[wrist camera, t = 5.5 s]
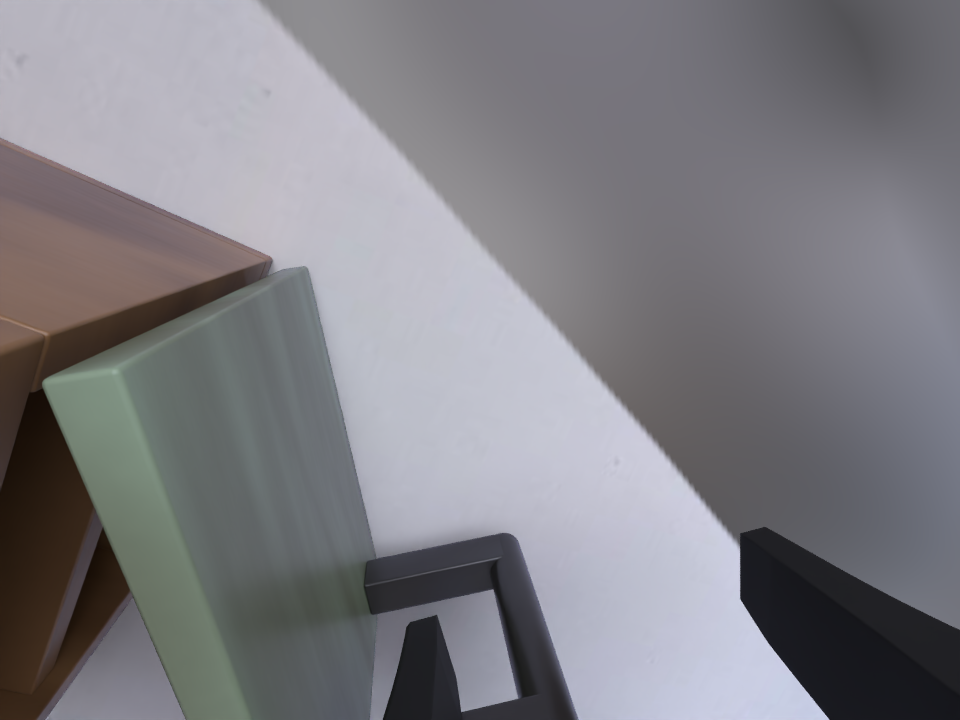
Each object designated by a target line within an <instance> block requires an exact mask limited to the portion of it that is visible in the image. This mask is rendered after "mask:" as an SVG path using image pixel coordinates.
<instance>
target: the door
mask: <svg viewBox="0 0 960 720" xmlns="http://www.w3.org/2000/svg"><path fill="white" fill-rule="evenodd" d="M42 387H43V389H44V392H45V394H46V396H47V399H48V401H49V403H50V406H51V408H52V410H53V413H54V415H55V417H56V420H57V422H58V424H59V427H60V429H61V431H62V434H63V436H64V438H65V441H66V443H67V445H68V447H69V450H70V452H71V454H72V457H73V459H74V461H75V464H76V466H77V468H78V471H79V473H80V475H81V478H82V480H83V482H84V485H85V487H86V489H87V492H88V494H89V496H90V498H91V501H92V503H93V505H94V508H95V510H96V512H97V515H98V517H99V519H100V522H101V524H102V526H103V529H104V531H105V533H106V536H107V538H108V540H109V543H110V545H111V547H112V549H113V552H114V554H115V556H116V559H117V561H118V563H119V566H120V568H121V570H122V573H123V575H124V577H125V580H126V582H127V584H128V587H129V589H130V591H131V594H132V596H133V598H134V600H135V603H136V605H137V607H138V610H139V612H140V614H141V617H142V619H143V621H144V624H145V626H146V628H147V631H148V633H149V635H150V638H151V640H152V642H153V645H154V647H155V649H156V652H157V654H158V656H159V658H160V661H161V663H162V665H163V668H164V670H165V672H166V675H167V677H168V679H169V682H170V684H171V686H172V689H173V691H174V693H175V696H176V698H177V700H178V703H179V705H180V707H181V709H182V712H183V714H184V716H185V719H186V720H370V710H371V696H372V683H373V669H374V656H375V643H376V629H377V616H378V614H380V613H385V612H390V611H394V610H399V609H404V608H408V607H413V606H417V605H422V604H427V603H431V602H436V601H441V600H445V599H450V598H455V597H459V596H464V595H469V594H473V593H478V592H483V591H487V590H492V589H493V590H494V594H495V598H496V603H497V607H498V612H499V616H500V620H501V625H502V629H503V634H504V638H505V642H506V647H507V651H508V656H509V660H510V664H511V669H512V673H513V678H514V682H515V686H516V691H517V695H518V699H516V700H512V701H507V702H503V703H499V704H495V705H491V706H486V707H482V708H478V709H474V710H469V711H465V712H461V715H462V720H578V717H577V714H576V711H575V708H574V705H573V702H572V699H571V696H570V693H569V690H568V687H567V684H566V681H565V678H564V675H563V672H562V669H561V666H560V663H559V660H558V657H557V654H556V651H555V649H554V646H553V643H552V640H551V637H550V634H549V631H548V628H547V625H546V622H545V619H544V616H543V613H542V610H541V607H540V604H539V601H538V598H537V595H536V592H535V589H534V586H533V583H532V580H531V577H530V574H529V571H528V568H527V565H526V562H525V559H524V556H523V553H522V550H521V548H520V545H519V542H518V540H517V539H516V538H515V537H514V536H513V535H511V534H508V533H500V534H496V535H491V536H486V537H481V538H476V539H471V540H466V541H461V542H456V543H451V544H447V545H442V546H437V547H432V548H427V549H422V550H417V551H412V552H407V553H402V554H398V555H393V556H388V557H383V558H378V559H376V555H375V551H374V547H373V542H372V538H371V534H370V530H369V525H368V521H367V517H366V513H365V508H364V504H363V500H362V496H361V492H360V487H359V483H358V479H357V475H356V470H355V466H354V462H353V458H352V453H351V449H350V445H349V441H348V437H347V432H346V428H345V424H344V420H343V415H342V411H341V407H340V403H339V398H338V394H337V390H336V386H335V382H334V377H333V373H332V369H331V365H330V360H329V356H328V352H327V348H326V344H325V339H324V335H323V331H322V327H321V322H320V318H319V314H318V310H317V305H316V301H315V297H314V293H313V289H312V284H311V280H310V276H309V272H308V268H307V267H305V266H303V267H296V268H289V269H283V270H280V271H278V272H276V273H274V274H272V275H269V276H267V277H265V278H263V279H261V280H259V281H256V282H254V283H252V284H250V285H248V286H245V287H243V288H241V289H239V290H237V291H235V292H232V293H230V294H228V295H226V296H224V297H221V298H219V299H217V300H215V301H213V302H211V303H208V304H206V305H204V306H202V307H200V308H197V309H195V310H193V311H191V312H189V313H187V314H184V315H182V316H180V317H178V318H176V319H173V320H171V321H169V322H167V323H165V324H163V325H160V326H158V327H156V328H154V329H152V330H149V331H147V332H145V333H143V334H141V335H139V336H136V337H134V338H132V339H130V340H128V341H125V342H123V343H121V344H119V345H117V346H115V347H112V348H110V349H108V350H106V351H104V352H101V353H99V354H97V355H95V356H93V357H90V358H88V359H86V360H84V361H82V362H80V363H77V364H75V365H73V366H71V367H69V368H66V369H64V370H62V371H60V372H58V373H56V374H53V375H51V376H49V377H47V378H46V379H44V380H43V382H42Z"/></svg>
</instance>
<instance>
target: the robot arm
mask: <svg viewBox="0 0 960 720" xmlns="http://www.w3.org/2000/svg"><path fill="white" fill-rule="evenodd" d="M740 599H741V601H742V602H743V604H744V606H745V607H746V609H747V610H748V612H749V614H750V615H751V617H752V618H753V620H754V622H755V623H756V625H757V626H758V628H759V629H760V631H761V632H762V634H763V635H764V637H765V638H766V640H767V641H768V643H769V644H770V646H771V647H772V648H773V650H774V651H775V652H776V653H777V655H778V656H779V657H780V658H781V660H782V661H783V662H784V663H785V665H786V666H787V667H788V669H789V670H790V671H791V672H792V674H793V675H794V676H795V677H796V679H797V680H798V681H799V682H800V684H801V685H802V686H803V687H804V689H805V690H806V691H807V692H808V693H809V695H810V696H811V697H812V698H813V700H814V701H815V702H816V703H817V705H818V706H819V707H820V708H821V710H822V711H823V712H824V713H825V715H826V716H827V717H828V718H829V720H960V630H959V629H956V628H954V627H952V626H950V625H948V624H946V623H944V622H942V621H940V620H938V619H935V618H933V617H931V616H929V615H927V614H925V613H923V612H921V611H919V610H917V609H915V608H913V607H911V606H909V605H907V604H905V603H903V602H901V601H899V600H897V599H895V598H893V597H891V596H889V595H888V594H886V593H884V592H882V591H880V590H878V589H876V588H874V587H872V586H870V585H869V584H867V583H865V582H863V581H861V580H859V579H857V578H856V577H854V576H852V575H850V574H848V573H846V572H845V571H843V570H841V569H839V568H837V567H836V566H834V565H832V564H830V563H829V562H827V561H825V560H823V559H821V558H819V557H818V556H816V555H814V554H813V553H811V552H809V551H807V550H805V549H804V548H802V547H800V546H798V545H797V544H795V543H793V542H791V541H790V540H788V539H786V538H784V537H782V536H781V535H779V534H777V533H775V532H773V531H772V530H770V529H768V528H766V527H763V528H759V529H755V530H752V531H748V532H744V533H741V534H740ZM383 720H462V715H461V708H460V700H459V693H458V686H457V679H456V675H455V672H454V669H453V665H452V662H451V659H450V656H449V652H448V649H447V646H446V643H445V639H444V636H443V633H442V630H441V626H440V623H439V620H438V617H437V615H435V616H431V617H427V618H424V619H420V620H416V621H413V622H410V623H409V625H408V626H407V627H406V633H405V638H404V643H403V648H402V652H401V657H400V661H399V665H398V669H397V672H396V676H395V680H394V684H393V687H392V691H391V694H390V697H389V701H388V704H387V707H386V711H385V714H384V717H383Z"/></svg>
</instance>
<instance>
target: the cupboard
mask: <svg viewBox="0 0 960 720" xmlns="http://www.w3.org/2000/svg"><path fill="white" fill-rule="evenodd" d="M271 263H272V258H271V257H270V256H268V255H265V254H263V253H261V252H259V251H256V250H254V249H252V248H249V247H247V246H245V245H243V244H240V243H238V242H236V241H234V240H231V239H229V238H227V237H224V236H222V235H220V234H218V233H215V232H213V231H211V230H208V229H206V228H204V227H202V226H199V225H197V224H195V223H193V222H190V221H188V220H186V219H183V218H181V217H179V216H177V215H174V214H172V213H170V212H167V211H165V210H163V209H161V208H158V207H156V206H154V205H152V204H149V203H147V202H145V201H142V200H140V199H138V198H136V197H133V196H131V195H129V194H126V193H124V192H122V191H120V190H117V189H115V188H113V187H111V186H108V185H106V184H104V183H101V182H99V181H97V180H95V179H92V178H90V177H88V176H85V175H83V174H81V173H79V172H76V171H74V170H72V169H70V168H67V167H65V166H63V165H60V164H58V163H56V162H54V161H51V160H49V159H47V158H44V157H42V156H40V155H38V154H35V153H33V152H31V151H29V150H26V149H24V148H22V147H19V146H17V145H15V144H13V143H10V142H8V141H6V140H4V139H1V138H0V720H45V719H46V718H47V716H48V715H49V714H50V712H51V711H52V709H53V708H54V707H55V705H56V704H57V702H58V701H59V700H60V698H61V697H62V695H63V694H64V693H65V691H66V690H67V688H68V687H69V686H70V684H71V683H72V681H73V680H74V679H75V677H76V676H77V674H78V673H79V672H80V670H81V669H82V667H83V666H84V665H85V663H86V662H87V660H88V659H89V658H90V656H91V655H92V653H93V652H94V651H95V649H96V648H97V646H98V645H99V644H100V642H101V641H102V639H103V638H104V637H105V635H106V634H107V632H108V631H109V630H110V628H111V627H112V625H113V624H114V623H115V621H116V620H117V618H118V617H119V616H120V614H121V613H122V611H123V610H124V609H125V607H126V606H127V604H128V603H129V602H130V600H131V599H132V597H133V596H132V594H131V591H130V589H129V587H128V584H127V582H126V580H125V577H124V575H123V573H122V570H121V568H120V566H119V563H118V561H117V559H116V556H115V554H114V552H113V549H112V547H111V545H110V543H109V540H108V538H107V536H106V533H105V531H104V529H103V526H102V524H101V522H100V519H99V517H98V515H97V512H96V510H95V508H94V505H93V503H92V501H91V498H90V496H89V494H88V492H87V489H86V487H85V485H84V482H83V480H82V478H81V475H80V473H79V471H78V468H77V466H76V464H75V461H74V459H73V457H72V454H71V452H70V450H69V447H68V445H67V443H66V441H65V438H64V436H63V434H62V431H61V429H60V427H59V424H58V422H57V420H56V417H55V415H54V413H53V410H52V408H51V406H50V403H49V401H48V399H47V396H46V394H45V392H44V389H43V387H42V382H43V380H44V379H46V378H47V377H49V376H51V375H53V374H56V373H58V372H60V371H62V370H64V369H66V368H69V367H71V366H73V365H75V364H77V363H80V362H82V361H84V360H86V359H88V358H90V357H93V356H95V355H97V354H99V353H101V352H104V351H106V350H108V349H110V348H112V347H115V346H117V345H119V344H121V343H123V342H125V341H128V340H130V339H132V338H134V337H136V336H139V335H141V334H143V333H145V332H147V331H149V330H152V329H154V328H156V327H158V326H160V325H163V324H165V323H167V322H169V321H171V320H173V319H176V318H178V317H180V316H182V315H184V314H187V313H189V312H191V311H193V310H195V309H197V308H200V307H202V306H204V305H206V304H208V303H211V302H213V301H215V300H217V299H219V298H221V297H224V296H226V295H228V294H230V293H232V292H235V291H237V290H239V289H241V288H243V287H245V286H248V285H250V284H252V283H254V282H256V281H259V280H261V279H263V278H265V277H266V276H267V273H268V271H269V268H270V265H271Z"/></svg>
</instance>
